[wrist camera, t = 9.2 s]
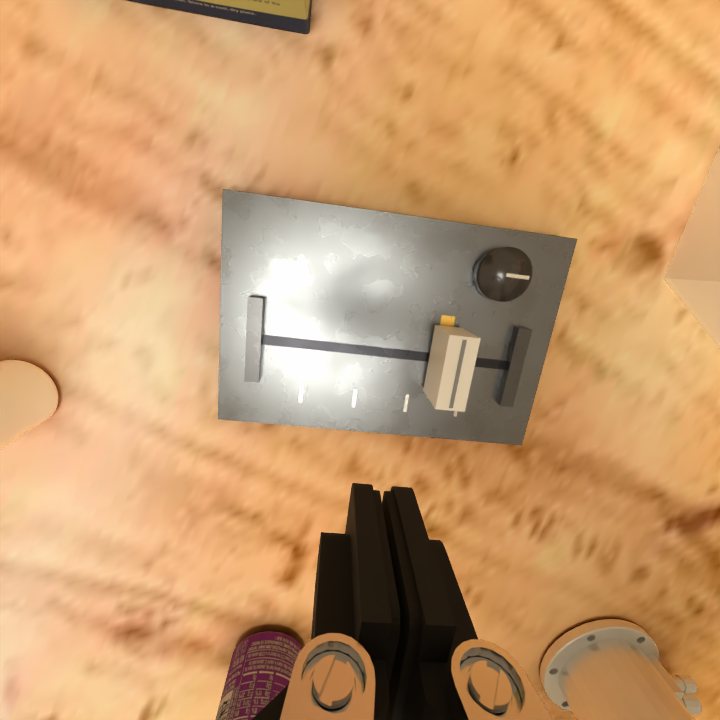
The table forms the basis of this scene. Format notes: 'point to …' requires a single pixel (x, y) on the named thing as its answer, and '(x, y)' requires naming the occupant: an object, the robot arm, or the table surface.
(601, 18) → the table surface
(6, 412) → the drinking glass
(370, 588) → the robot arm
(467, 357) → the fader
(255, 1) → the protein box
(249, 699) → the beverage can
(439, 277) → the console
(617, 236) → the table surface
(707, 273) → the tiered cake
